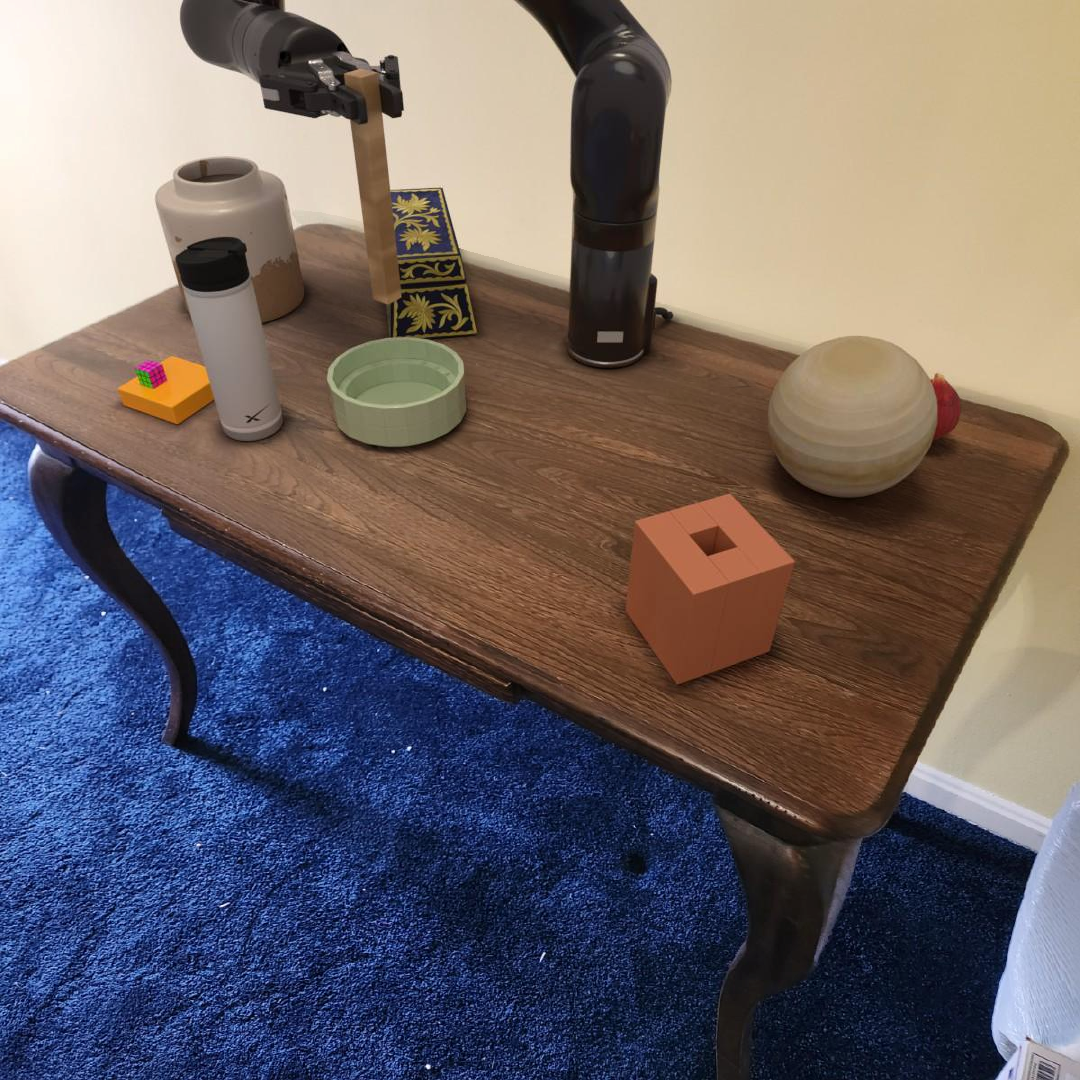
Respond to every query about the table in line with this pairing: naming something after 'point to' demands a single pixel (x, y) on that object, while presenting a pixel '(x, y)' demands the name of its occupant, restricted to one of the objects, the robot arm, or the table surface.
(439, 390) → the bowl
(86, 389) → the table surface
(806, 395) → the decorative ball
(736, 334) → the table surface
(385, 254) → the long square wooden peg
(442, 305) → the decorative box
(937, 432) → the onion
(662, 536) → the stick holder
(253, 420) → the travel mug
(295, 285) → the vase
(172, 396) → the orange flat block
